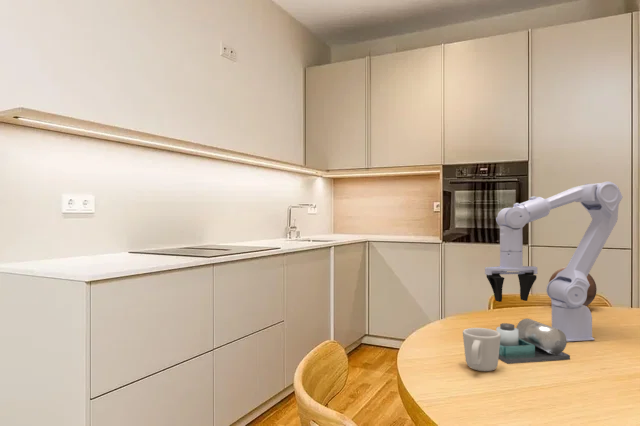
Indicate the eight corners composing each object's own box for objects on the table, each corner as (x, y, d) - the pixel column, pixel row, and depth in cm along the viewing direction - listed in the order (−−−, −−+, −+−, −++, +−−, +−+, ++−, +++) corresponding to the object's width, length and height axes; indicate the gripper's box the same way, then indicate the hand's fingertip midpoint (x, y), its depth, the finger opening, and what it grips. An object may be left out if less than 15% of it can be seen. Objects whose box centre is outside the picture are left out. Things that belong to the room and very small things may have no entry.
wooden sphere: (559, 302, 171) (558, 263, 171) (603, 309, 159) (603, 266, 160) (541, 308, 161) (540, 266, 162) (586, 315, 150) (586, 270, 150)
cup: (494, 381, 92) (494, 342, 92) (455, 374, 96) (455, 336, 96) (503, 365, 101) (503, 330, 101) (467, 359, 106) (467, 325, 106)
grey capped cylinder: (512, 346, 113) (512, 322, 113) (522, 352, 108) (522, 327, 108) (493, 346, 113) (492, 322, 113) (502, 352, 108) (501, 327, 108)
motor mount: (534, 343, 118) (534, 317, 118) (569, 359, 105) (569, 329, 105) (478, 347, 116) (478, 319, 116) (507, 363, 103) (506, 333, 103)
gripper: (526, 249, 128) (526, 297, 128) (479, 250, 126) (479, 298, 126) (542, 251, 121) (542, 301, 121) (492, 252, 119) (492, 303, 119)
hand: (511, 300), depth 123 cm, fingers open, 7 cm apart
